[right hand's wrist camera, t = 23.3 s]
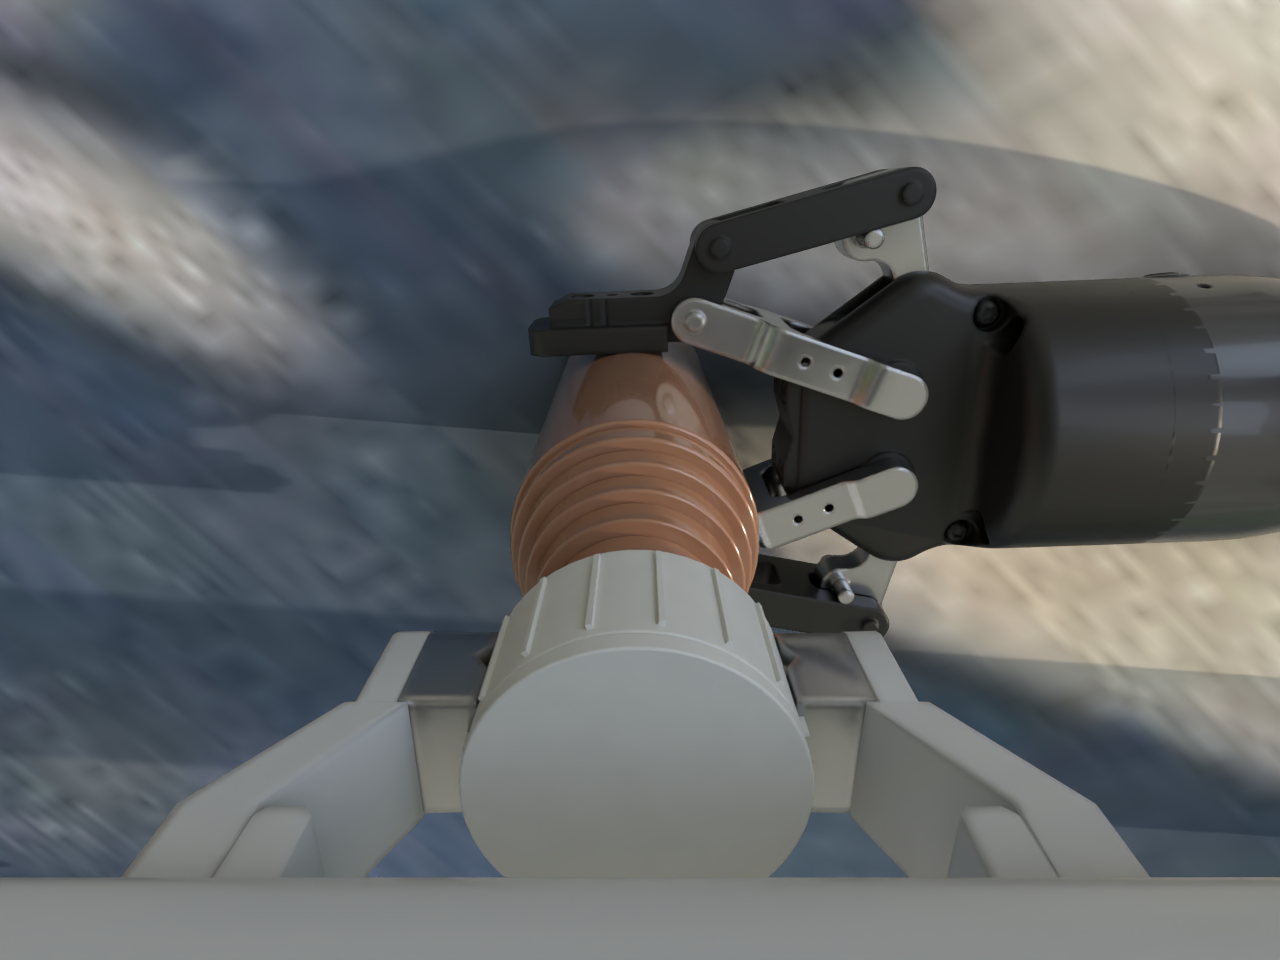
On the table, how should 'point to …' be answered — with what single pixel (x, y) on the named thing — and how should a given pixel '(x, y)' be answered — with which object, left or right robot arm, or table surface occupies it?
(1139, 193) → the table surface
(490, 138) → the table surface
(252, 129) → the table surface
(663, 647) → the cap
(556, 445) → the bottle
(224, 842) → the right robot arm
